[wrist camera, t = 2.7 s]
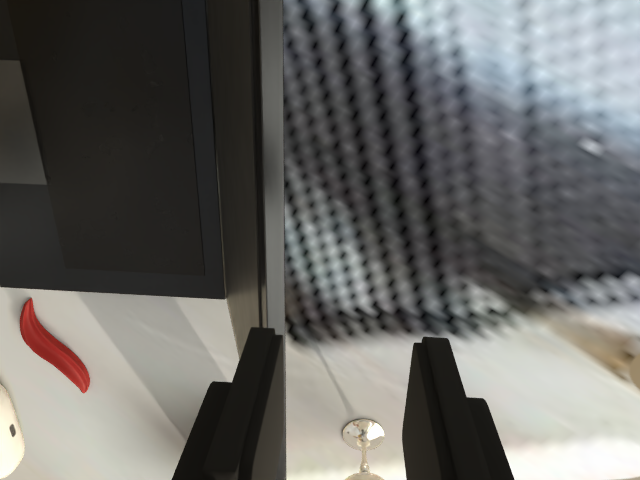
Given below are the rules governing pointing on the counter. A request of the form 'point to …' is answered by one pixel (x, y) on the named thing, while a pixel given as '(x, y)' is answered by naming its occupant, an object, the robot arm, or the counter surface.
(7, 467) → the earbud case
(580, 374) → the counter surface
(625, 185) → the counter surface
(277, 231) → the laptop screen
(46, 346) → the cayenne pepper
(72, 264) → the laptop
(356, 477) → the wineglass
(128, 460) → the counter surface
